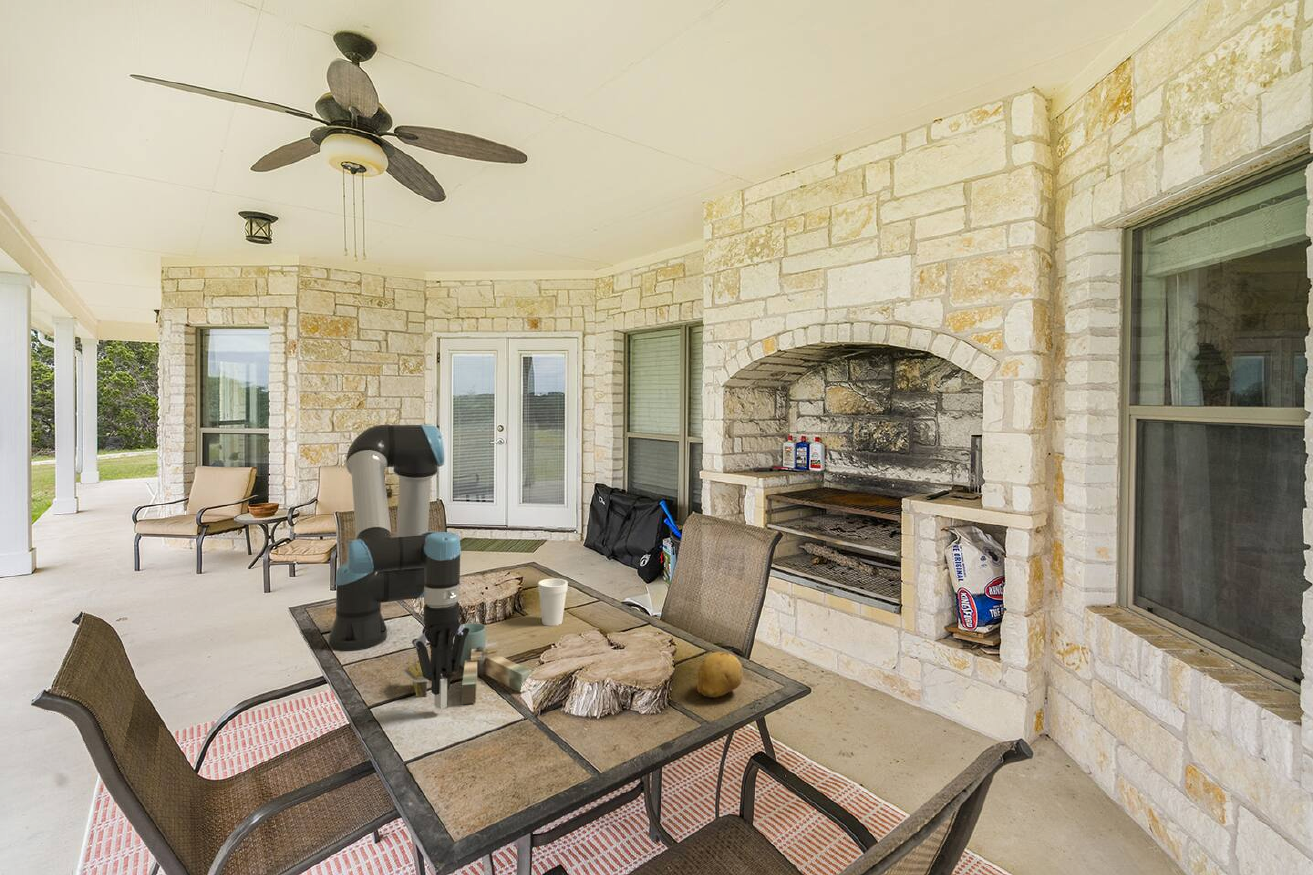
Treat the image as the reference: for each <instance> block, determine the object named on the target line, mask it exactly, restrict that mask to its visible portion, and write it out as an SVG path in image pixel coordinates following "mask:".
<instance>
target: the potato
mask: <svg viewBox="0 0 1313 875" xmlns="http://www.w3.org/2000/svg"><path fill="white" fill-rule="evenodd" d="M743 673H744V672H743V665H742V663H741V661H740V659H739V658H738V657H736V656H735V655H733V654H730V653H728V652H724V651H719V650H717V651H715V652H711V653H710V654H708V655H707V656H706V657H705V658H704V659H703V660H702V662H701V664H700V666H699V668H698V672H697V679H698V680H697V683H696V688H697V689H696V690H697V692H698V693H700V694H701V695H702V694H703V695H705V696H704V697H706V696H708V697H707V698H712V697H713V698H715V697H716V698H719V697H718V696H720V697H722V696H724V695H726V694H728V693H729V692H732V691H734V690H737V689H738V688H739V686H741V684H742V681H743V677H744V676H743V675H744V674H743ZM703 695H702V696H703Z"/></svg>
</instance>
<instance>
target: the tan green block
mask: <svg viewBox="0 0 1313 875" xmlns="http://www.w3.org/2000/svg"><path fill="white" fill-rule="evenodd" d="M531 673H532V674H533V670H531V669H529V668H526V667H525V666H522V665H521V664H518V663H516V662H513V661H512V660H509V659H507V658H505V657H503V656H502V655H500V654H499V655H498V654H497V653H491V654H489V653H488V652H486V651H485V652H484V651H482V659H481V660H477V677H480V676H485V675H486V676H488V677H490V678H492V679H494V680H496V681H497V682H500V683H501V684H503V685H506V686H507V687H509V688H511V689H513V690H514V691H516V692H518V693H520V690H521V686H522V683H523V682H524V681H525V679H526V678H527V677H528V676H529V675H530V674H531Z"/></svg>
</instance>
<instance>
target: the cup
mask: <svg viewBox="0 0 1313 875" xmlns="http://www.w3.org/2000/svg"><path fill="white" fill-rule="evenodd" d="M461 625H462V626H465V627H467V628H469V632H468V634H467V636H466V638H465V642H464V647H463V651H462V656H461V660H460V665H459V667H462V668H464V665H465V660H471V650H472V649H476V648H477V647H483V648H484V649H483V651H484V652H486V638H487V637H486V636H487V635H486V632H487V631H486V630H487V628H486V626H485V624H483V623H478V622H468V623H462V624H461ZM455 635H456V634H455Z"/></svg>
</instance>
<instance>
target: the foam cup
mask: <svg viewBox="0 0 1313 875" xmlns="http://www.w3.org/2000/svg"><path fill="white" fill-rule="evenodd" d="M537 586H538V588H537V591H538V595H539V605H540V614H541V622H542V624H543V625H544V626H548V627H553V626H555V625H556V626H560V625H562V623H563V618H564V612H565V607H566V606H565V605H566V599H567V592H568V590H569V588H568V587H569V581H568V580H566V579H562V578H545V579H541V580H539V581H538V583H537ZM559 624H560V625H559Z"/></svg>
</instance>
